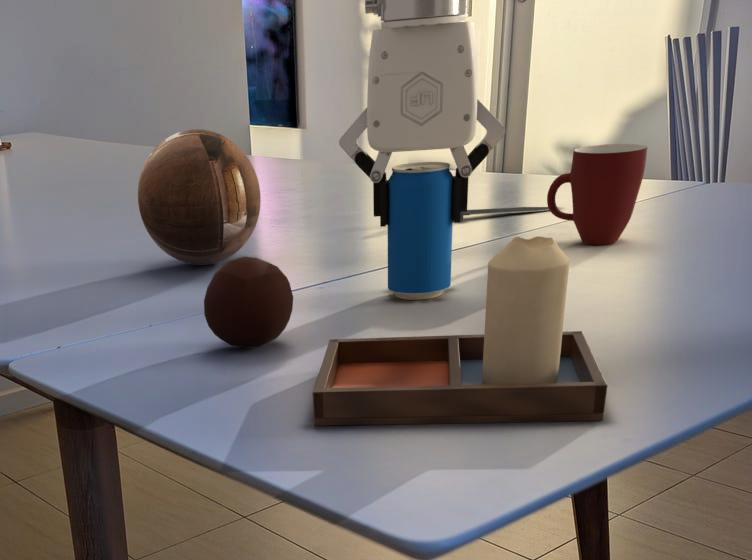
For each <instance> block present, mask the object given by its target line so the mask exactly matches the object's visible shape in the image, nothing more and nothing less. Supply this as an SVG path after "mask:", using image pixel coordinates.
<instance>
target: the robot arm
mask: <svg viewBox="0 0 752 560" xmlns="http://www.w3.org/2000/svg"><path fill="white" fill-rule="evenodd" d="M466 6H467V0H364V12H365V13H364V14H365V15H368V14H373V16H377V17H378V18H379V17H380V21H381V22H380V25H381V26H380V28H375V29H372V33H371V34H372V35H371V41H370V47H369V56H368V57H369V58H368V68H367V69H368V71H367V92H366V93H367V95H366V97H367V99H366V108H364V110H363V111H362V112H361V113H360V114H359V116H358V117H357V118H356V119H355V121H353V123H352V124H351V125H350V126H349V127H348V128H347V130H346V131H345V132H344V133H343V134H342V136H341V137H340V138H339V141H338V145H339V146H340V148H341V149H342V150H343V151H344V152H345V153H346V154H347V156H348V157H349V158H350V159H351V160H352V161H353V162H354V163H355V165H356V166H357V167H358V168H359V169H360V170H361V171H362V172H363V173H364V174H365V175H366V177H368V178H369V179H370V181H371V182H372V185H373V186H372V187H373V188H372V189H373V198H372V200H373V203H372V204H373V217H374V218H375V217H377V218H378V217H379V220H380V221H379V222H380V223H379V224H380V225H379V226H380V228H383V227H385V228H386V226H388V180H389V179H388V178H387V173H386V169H387V167H388V164H389V162H390V159H391V157H392V155H393V153H400V152H401V153H403V152H416V151H432V150H445V149H446V150H447V149H449V150H450V152H451V155H452V158H453V160H454V163H455V165H456V168H455V175H453V177H454V184H453V214H452V222H453V223H454V224H457V223H458V224H459V223H461V221H460V212H467V210H468V202H469V201H468V198H469V177H470V176H471V175H472V173H474V171H475V170H476V169H477V168H478V166H479V165H480V164H481V163H482V162H483V161H484V160H485V159H486V158H487V156H488V155H489V154H490V152H491V151H493V149H494V148H495V147H496V145H498V143H499V142H500V141H501V140H502V139H503V138H504V136H505V135H506V132H507V129H506V127H505V126H504V125H503V124H502V123H501V122H500V121H499V119H498V118H496V116H495V115H494V114H493V113H492V112H491V111H490V110H489V109H488V108H487V107H486V106H485V105H484V104H483V103H482V102H481V101H480V100H479V99H478V50H477V49H478V48H477V38H476V37H477V36H476V29H475V23H474V20H469V21H468V20H467V21H466V11H467V7H466ZM477 122H478V123H479V124H480V125H481V126H482V127H483V128H484V129H485V130H486V133H485V135H484V136H483V138H482V139H481V140H480V142H479V143H478V144H477V145H475V147H474V148H473V149H472V150H471V151H470V152H469V153H467V150H466V148H465V146H466V145H468V144H470V143H471V142H472V141H473V140H474V138H475V136H476V130H477ZM365 130H366V133H367V134H366V135H367V142H368V146H369V147H370V148H371V149H373V150H374V151H377V152H378V153H377V155H376V158H375V159H374V158H373V157H371V155H369V153H368V152H366V151H365V150H364V149H363V147H362V146H361V145H360V144H359V142H358V139H359V137H360V136H361V135H362V134H363V133H364V132H365Z"/></svg>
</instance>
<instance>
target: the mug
mask: <svg viewBox="0 0 752 560" xmlns="http://www.w3.org/2000/svg"><path fill="white" fill-rule="evenodd" d="M647 154H648V146H647V145H644V144H639V143H636V144H635V143H612V144H611V143H610V144H597V145H587V146H581V147H577V148H575V149H573V153H572V159H571V167H570V172H567V173H566V172H565V173H563V174H560V175H558V176H557V177H556V178H554V180H553V181H552V183H551V184H550V186H549V188H548V191H547V196H546V204H547V207H548V208H549V210H548V211H549V212H550V213H551V214H552V215H553V216H554V217H556V218H557V219H560V220H564V221H570V222H571V221H572V222H573V224H574V225H575V228H576V230H577V233H578V235H579V237H580V240H581V242H582V243H583V244H585V245H592V246H605V245H610V244H612V245H613V244H615V243H617V242H618V240H619V239H620V237H621V236H622V234H623V232H624V231H625V229H626V228H627V226H628V224H629V223H630V220H631V218H632V215H633V212H634V209H635V206H636V202H637V199H638V195H639V192H640V188H641V186H642V182H643V179H644V176H645V175H644V174H645V170H646V163H647V156H648V155H647ZM564 184H570V188H571V199H572V200H571V201H572V213H568V212H564V211H562V210H560V209H559V208H557V207H558V206H557V203H556V196H557V192H558V190H559V188H560V187H561V186H562V185H564Z"/></svg>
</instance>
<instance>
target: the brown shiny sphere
mask: <svg viewBox="0 0 752 560" xmlns="http://www.w3.org/2000/svg"><path fill="white" fill-rule="evenodd" d="M137 186H138V187H137V203H138V209H139V214H140V217H141V221H142V224H143V225H144V228H145V230H146V232H147V233H148V235H149V237H150V238H151V239H152V241H153V242H154V244H156V246H157V247H159V248H160V250H162V251H163V252H164V253H165V254H167V255H168V256H170V257H172V258H173V259H175V260H177V261H179V262H181V263H185V264H189V265H194V266H195V265H196V266H209V265H214V264H217V263H220V262H223V261H225V260H227V259H229V258H231V257H233V256H234V255H236V253H238V252H239V251H240V250H242V248H243V247H244V246H245V245H246V244H247V242H248V241H249V240H250V238H251V236H252V234H253V233H254V231H255V229H256V226H257V223H258V220H259V216H260V212H261V199H262V197H261V187H260V183H259V179H258V175H257V173H256V170H255V167H254V165H253V163H252V162H251V160H250V159H249V157H248V156H247V155H246V153H245V152H244V151H243V150H242V148H241V147H240V146H239V145H237V144H236V143H235V142H234V141H232V140H231V138H228V137H226V136H225V135H223V134H221V133H218V132H215V131H213V130H208V129H199V128H198V129H197V128H196V129H186V130H183V131H182V130H181V131H179V132H176V133H173V134H172V135H170V136H169V137H166V138H165V139H164V140H162V141H161V142H160V143H159V144H158V145H156V147H155V148H154V149H153V150H152V151H151V152H150V154H149V156H148V157H147V159H146V161H145V163H144V164H143V167H142V170H141V172H140V176H139V180H138V185H137Z"/></svg>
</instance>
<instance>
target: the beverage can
mask: <svg viewBox="0 0 752 560" xmlns="http://www.w3.org/2000/svg"><path fill="white" fill-rule="evenodd" d="M450 168H451V164H450V163H449V162H445V161H444V162H443V161H421V162H419V161H418V162H409V163H403V164H398V165H394V166H392V167H391V171H392V173H391V175H390V176H389V177H388V179H387V180H388V225H387V289H388V290H389V291H390V292H392V293H393V294H394V296H395V297H396V298H398V299H403V300H410V301H411V300H412V301H418V300H420V301H421V300H429V299H434V298H438V297H440V296H442V295H443V294H444V292H445V291H446V290H447V289H449V288H450V287H451V282H452V257H453V256H452V253H453V227H454V226H453V225H454V224H453V223H454V222H452V214H453V184H454V177H453V176H454V175H453V173H452V172H451V170H450Z"/></svg>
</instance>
